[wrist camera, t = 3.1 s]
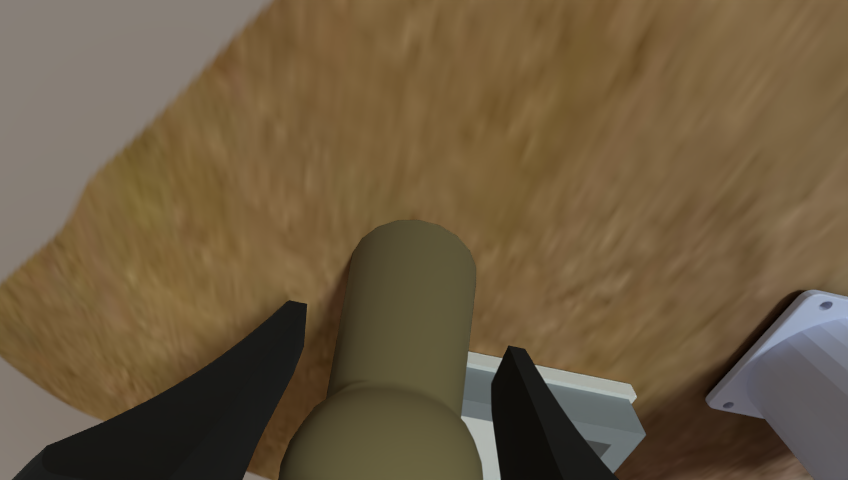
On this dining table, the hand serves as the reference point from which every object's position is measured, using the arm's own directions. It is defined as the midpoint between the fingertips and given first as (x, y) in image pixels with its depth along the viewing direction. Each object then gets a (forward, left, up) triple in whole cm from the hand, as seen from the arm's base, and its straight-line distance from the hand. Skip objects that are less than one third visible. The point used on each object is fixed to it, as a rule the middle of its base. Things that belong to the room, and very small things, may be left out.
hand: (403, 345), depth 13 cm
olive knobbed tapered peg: (0, 0, -5) cm, 5 cm away
